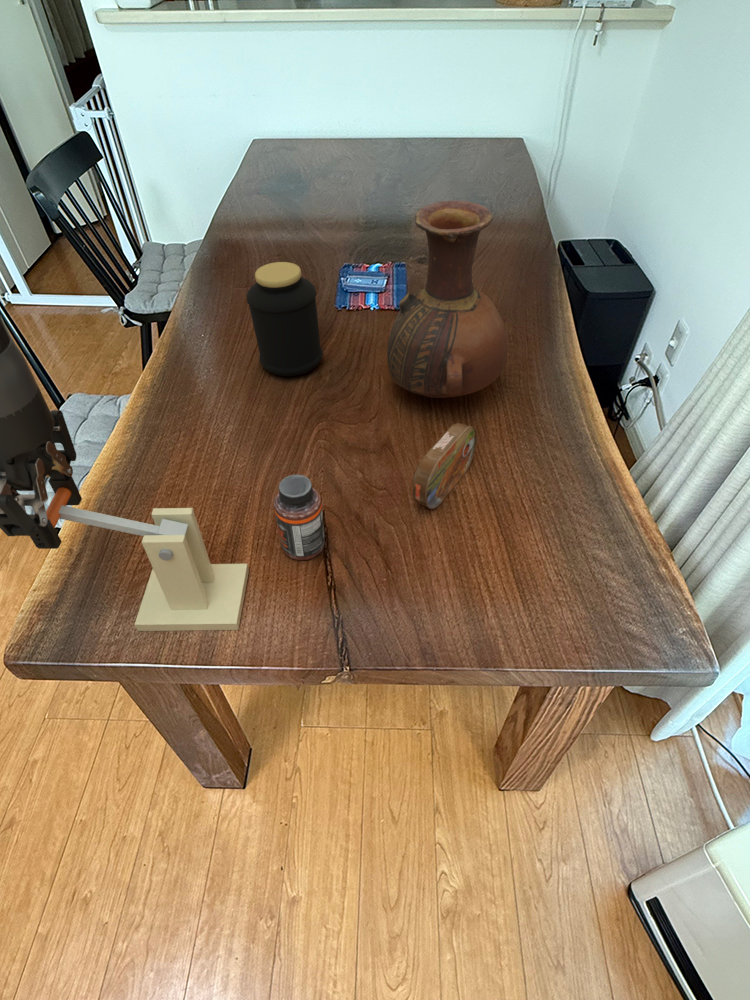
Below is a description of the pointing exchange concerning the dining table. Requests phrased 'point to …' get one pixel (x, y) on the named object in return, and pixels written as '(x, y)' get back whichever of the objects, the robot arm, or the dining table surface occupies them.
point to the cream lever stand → (188, 582)
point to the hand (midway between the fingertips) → (61, 523)
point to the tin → (444, 465)
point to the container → (285, 319)
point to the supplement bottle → (299, 518)
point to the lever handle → (107, 519)
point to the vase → (448, 312)
